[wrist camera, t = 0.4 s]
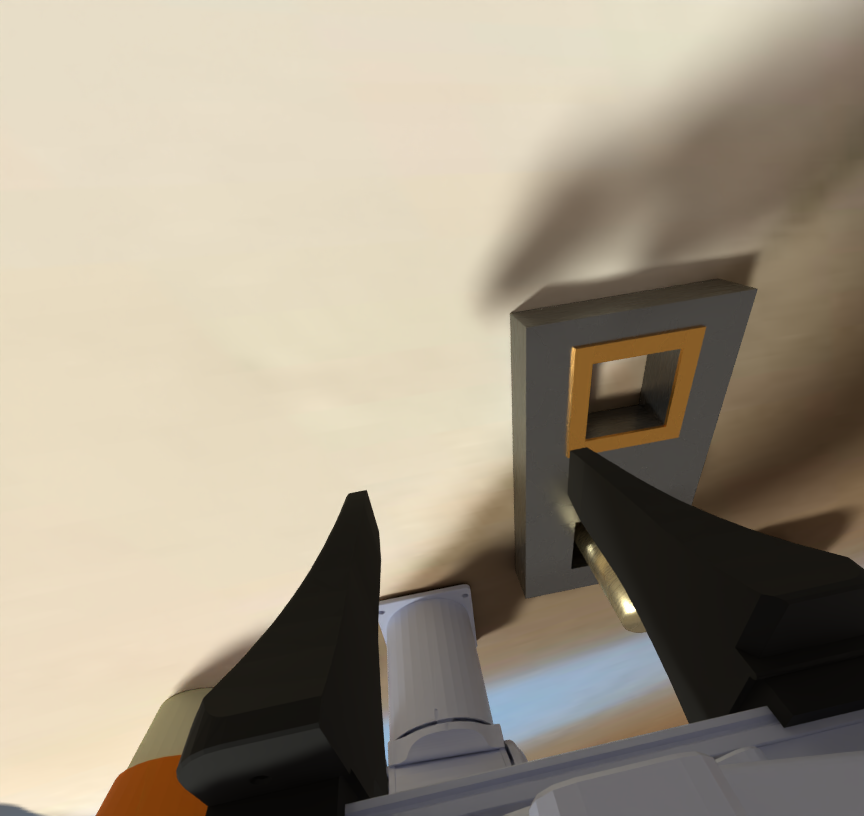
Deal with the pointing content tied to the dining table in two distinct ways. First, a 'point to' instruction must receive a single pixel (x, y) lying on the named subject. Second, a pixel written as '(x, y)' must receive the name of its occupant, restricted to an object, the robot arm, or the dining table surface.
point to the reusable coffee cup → (159, 766)
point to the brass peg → (608, 580)
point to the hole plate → (618, 428)
